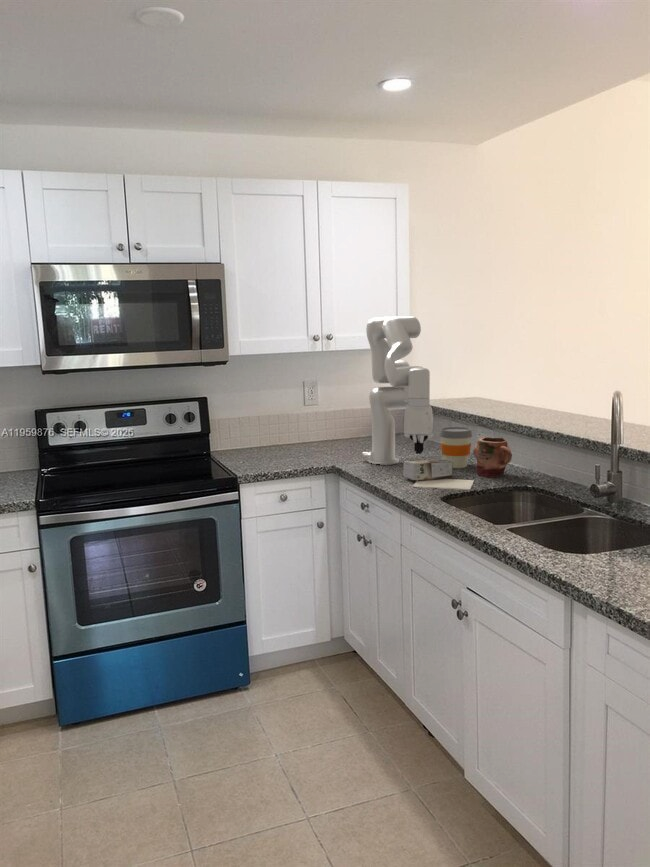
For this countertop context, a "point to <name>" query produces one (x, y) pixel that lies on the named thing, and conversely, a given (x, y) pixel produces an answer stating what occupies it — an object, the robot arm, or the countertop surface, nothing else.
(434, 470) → the coffee box
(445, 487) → the mat
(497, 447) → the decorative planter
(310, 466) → the countertop surface
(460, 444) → the reusable coffee cup
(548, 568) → the countertop surface
